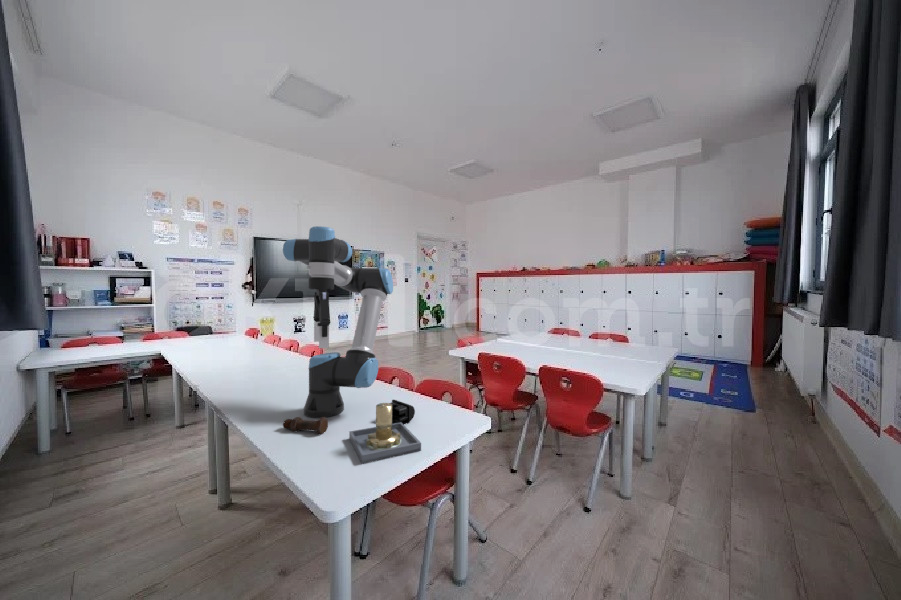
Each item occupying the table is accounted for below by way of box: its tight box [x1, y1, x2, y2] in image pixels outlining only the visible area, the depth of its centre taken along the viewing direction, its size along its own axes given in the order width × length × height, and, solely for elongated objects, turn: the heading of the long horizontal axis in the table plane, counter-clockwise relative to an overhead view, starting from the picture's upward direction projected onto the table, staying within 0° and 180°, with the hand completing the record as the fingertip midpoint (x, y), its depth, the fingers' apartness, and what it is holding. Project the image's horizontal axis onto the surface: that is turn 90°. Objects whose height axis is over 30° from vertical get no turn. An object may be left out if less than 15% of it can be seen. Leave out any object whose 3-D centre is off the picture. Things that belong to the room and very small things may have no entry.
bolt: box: [282, 416, 329, 435], centre depth 115 cm, size 6×5×15 cm
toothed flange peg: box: [366, 402, 401, 449], centre depth 106 cm, size 11×11×12 cm
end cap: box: [389, 399, 416, 426], centre depth 126 cm, size 10×7×7 cm
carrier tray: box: [348, 422, 422, 465], centre depth 106 cm, size 18×18×2 cm
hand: (321, 344), depth 105 cm, fingers open, 13 cm apart
